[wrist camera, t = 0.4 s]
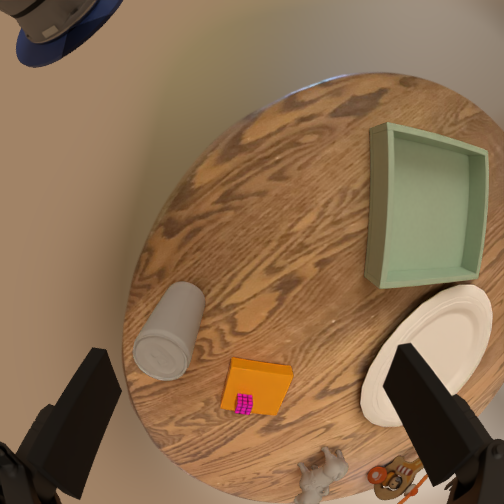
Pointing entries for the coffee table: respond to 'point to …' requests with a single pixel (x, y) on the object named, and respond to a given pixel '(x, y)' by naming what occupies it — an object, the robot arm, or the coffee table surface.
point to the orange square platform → (255, 386)
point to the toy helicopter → (396, 479)
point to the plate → (433, 346)
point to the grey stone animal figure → (320, 477)
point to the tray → (424, 208)
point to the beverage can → (170, 333)
